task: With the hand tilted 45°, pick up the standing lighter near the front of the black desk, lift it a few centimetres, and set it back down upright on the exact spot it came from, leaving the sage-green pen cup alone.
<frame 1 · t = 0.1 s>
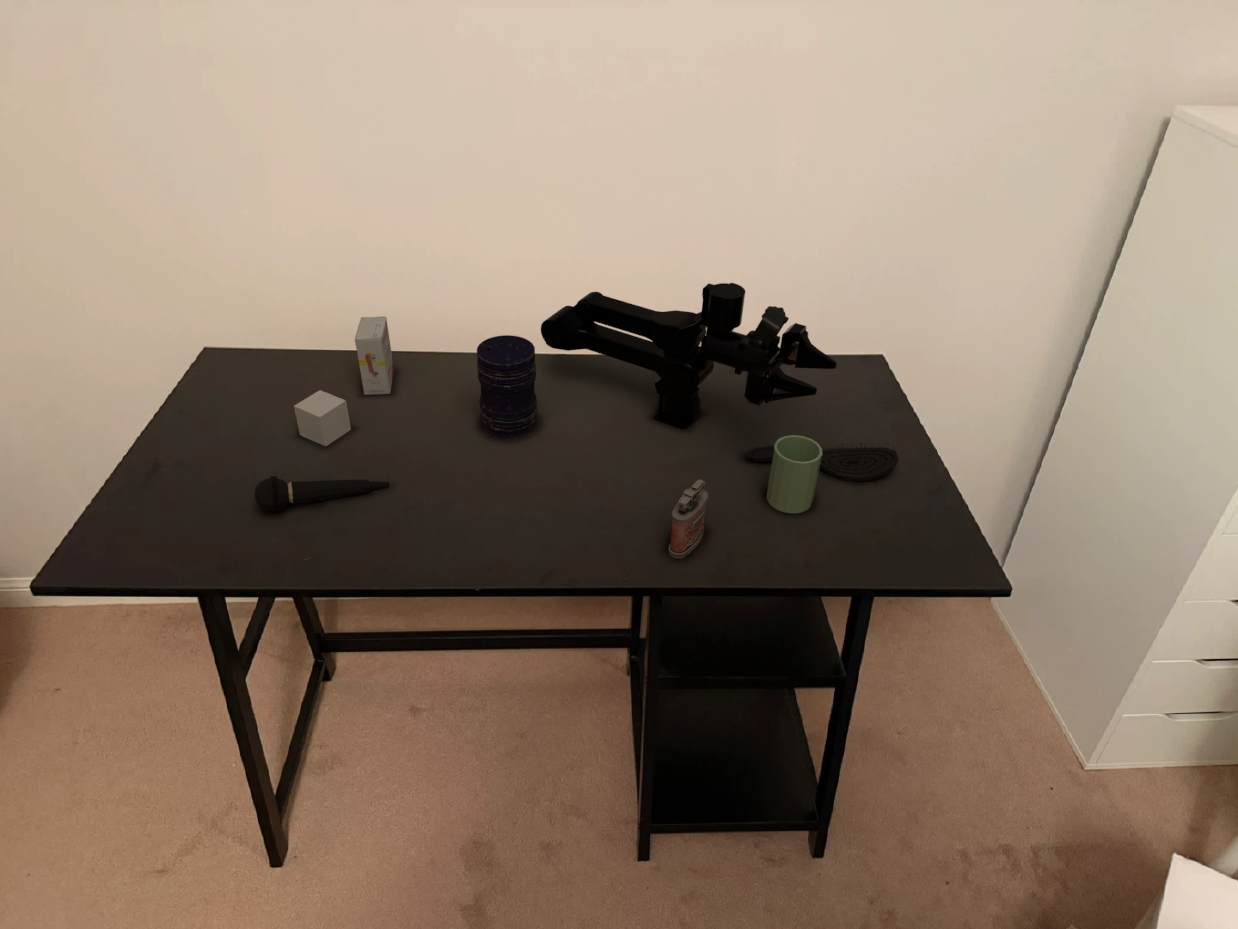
hand: (826, 378, 147), 17 cm above the table, tool horizontal, fingers open, 9 cm apart
pen cup: (789, 499, 149), on the table
microphone: (323, 502, 145), on the table
ink box: (379, 383, 173), on the table
light grey cube: (325, 433, 159), on the table
storage jar: (509, 424, 163), on the table
hairbrush: (819, 465, 157), on the table
lighter: (686, 543, 140), on the table
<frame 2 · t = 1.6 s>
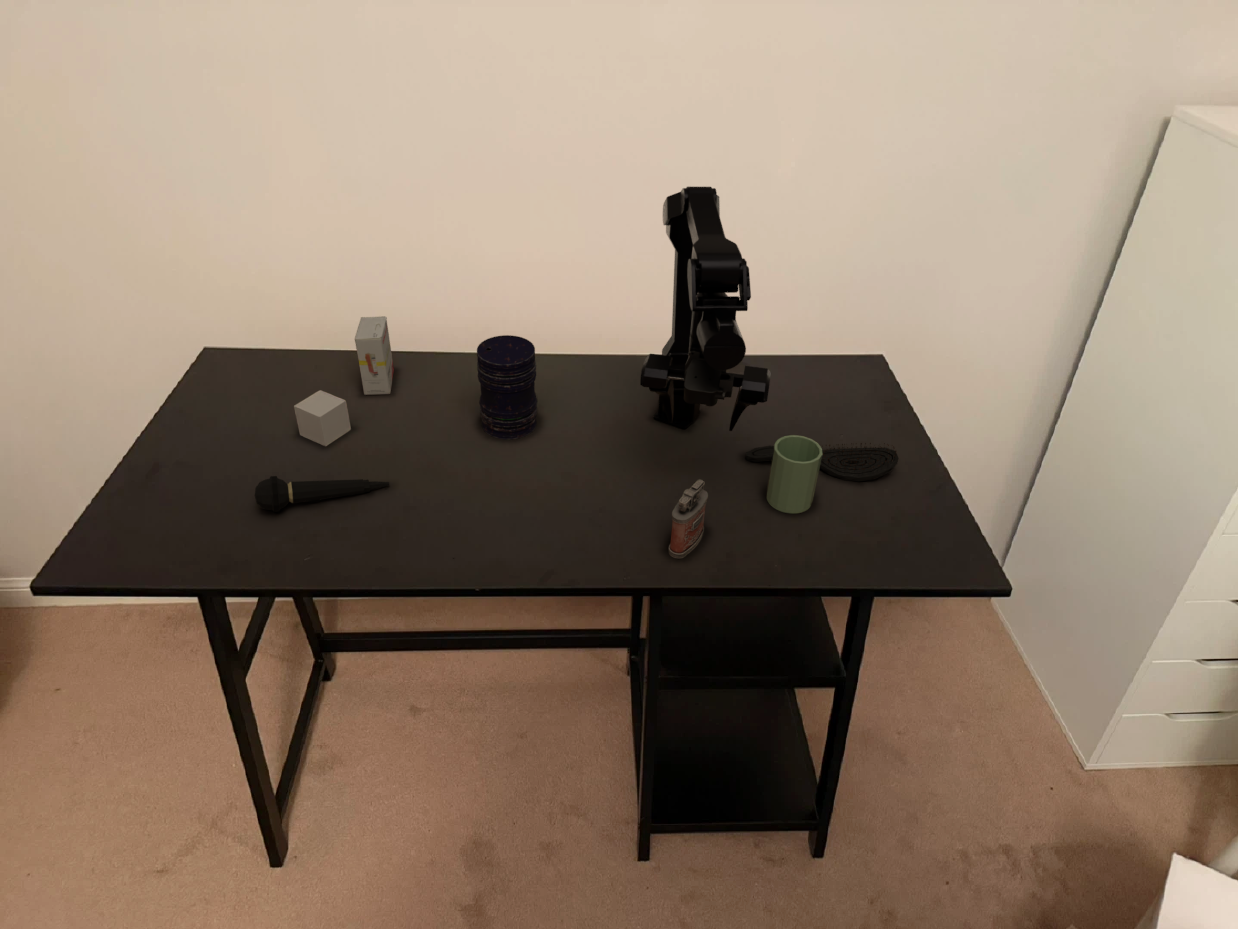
hand: (700, 425, 142), 13 cm above the table, tool pointing down, fingers open, 9 cm apart
nothing on the table moved.
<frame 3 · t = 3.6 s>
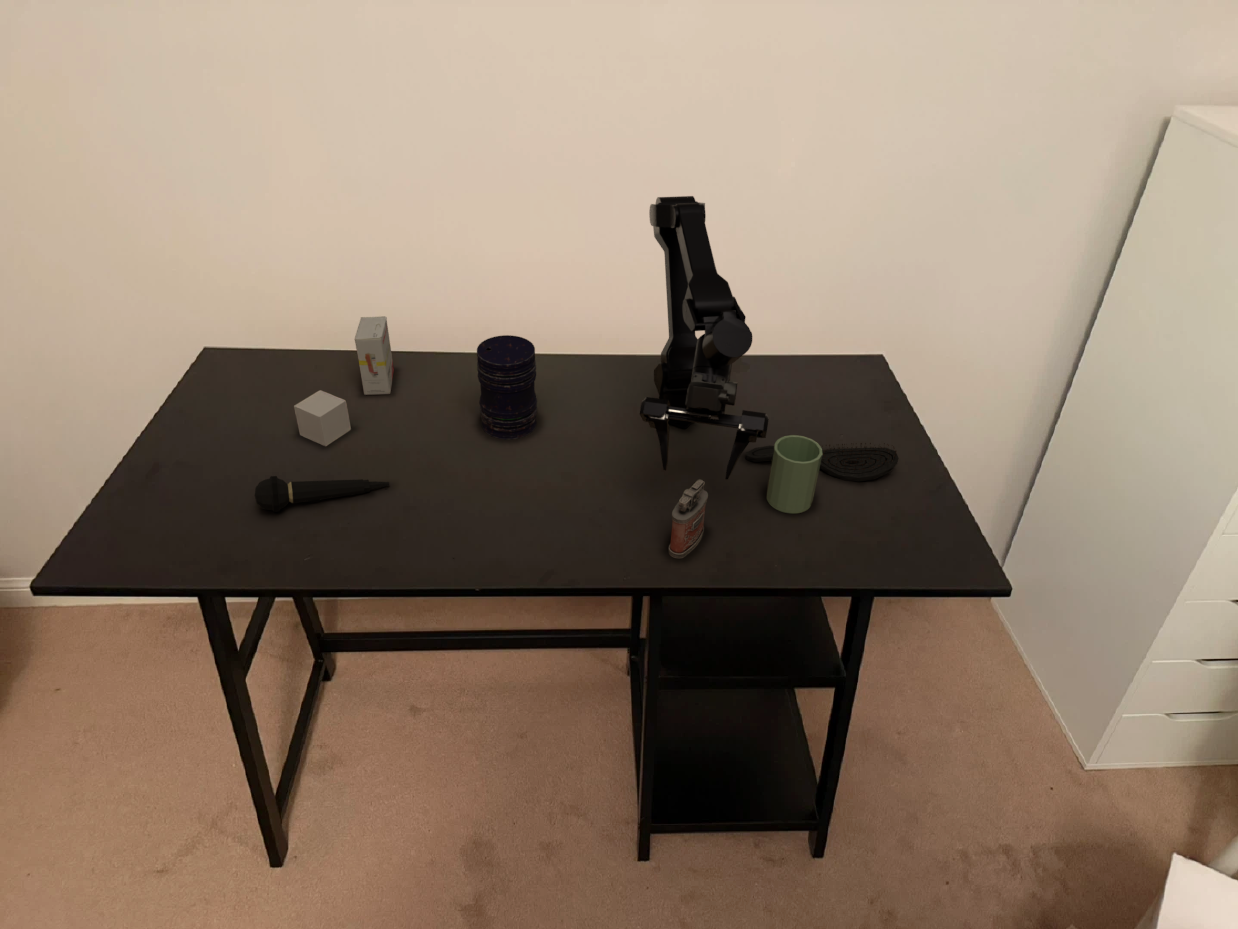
hand: (695, 474, 136), 10 cm above the table, tool tilted 45°, fingers open, 9 cm apart
nothing on the table moved.
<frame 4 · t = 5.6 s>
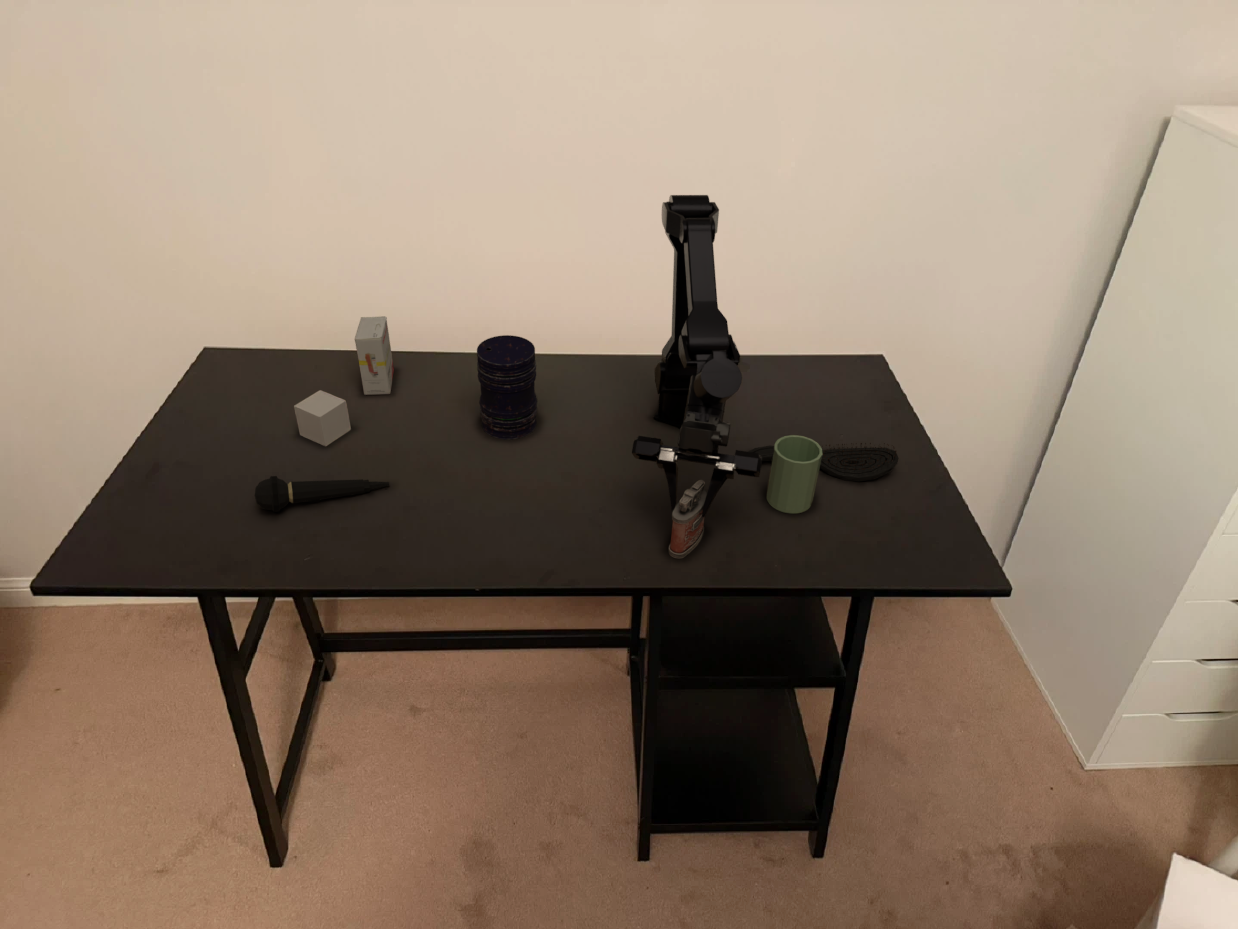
hand: (688, 514, 135), 7 cm above the table, tool tilted 45°, fingers closed on lighter, 4 cm apart
lighter: (686, 543, 140), on the table, touching gripper
everything else where it was.
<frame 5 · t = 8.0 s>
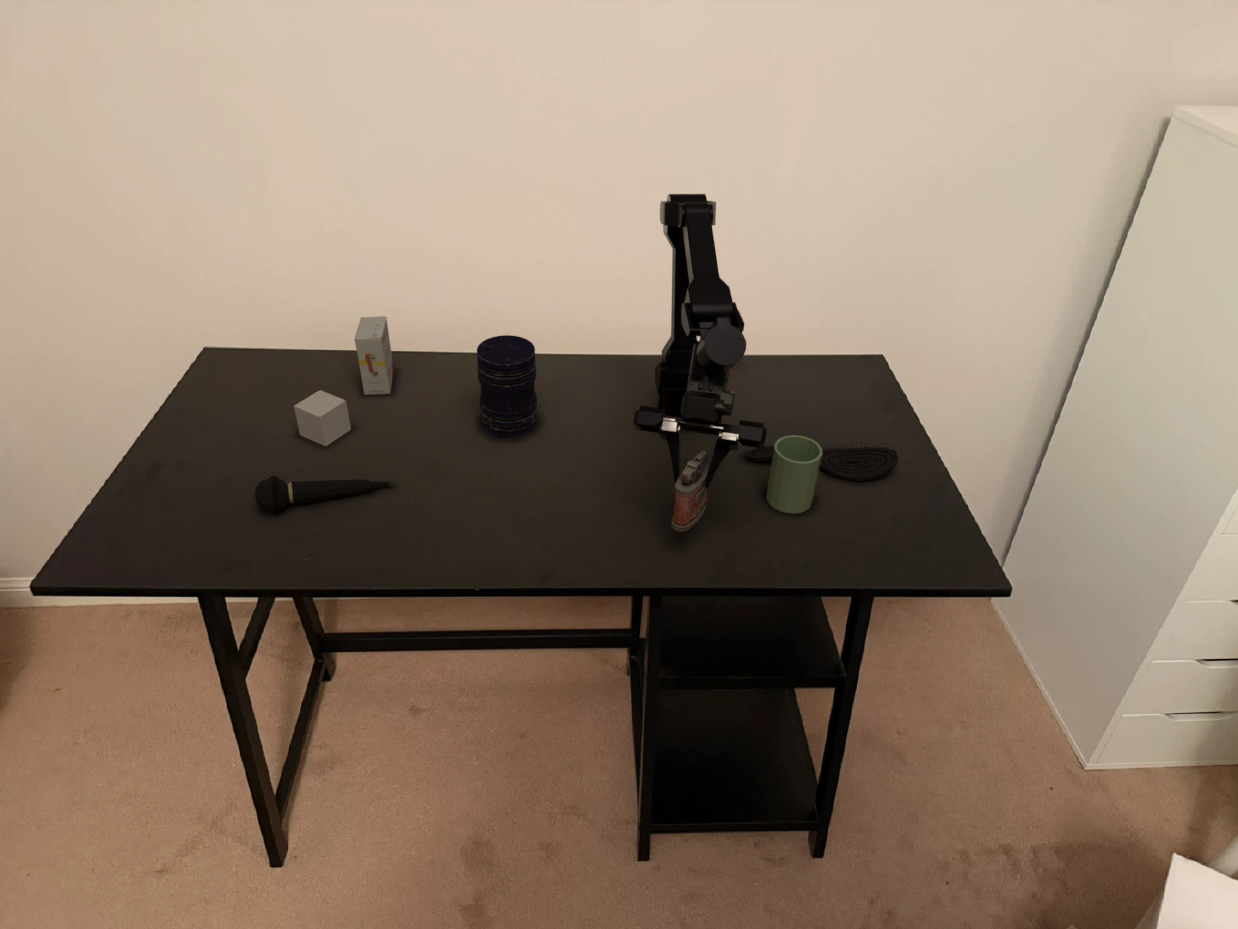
hand: (690, 486, 132), 12 cm above the table, tool tilted 45°, fingers closed on lighter, 4 cm apart
lighter: (688, 516, 137), point 5 cm above the table, touching gripper
everything else where it was.
when the fingers open (7 cm above the table, at t = 10.4 s): lighter stays where it is, on the table.
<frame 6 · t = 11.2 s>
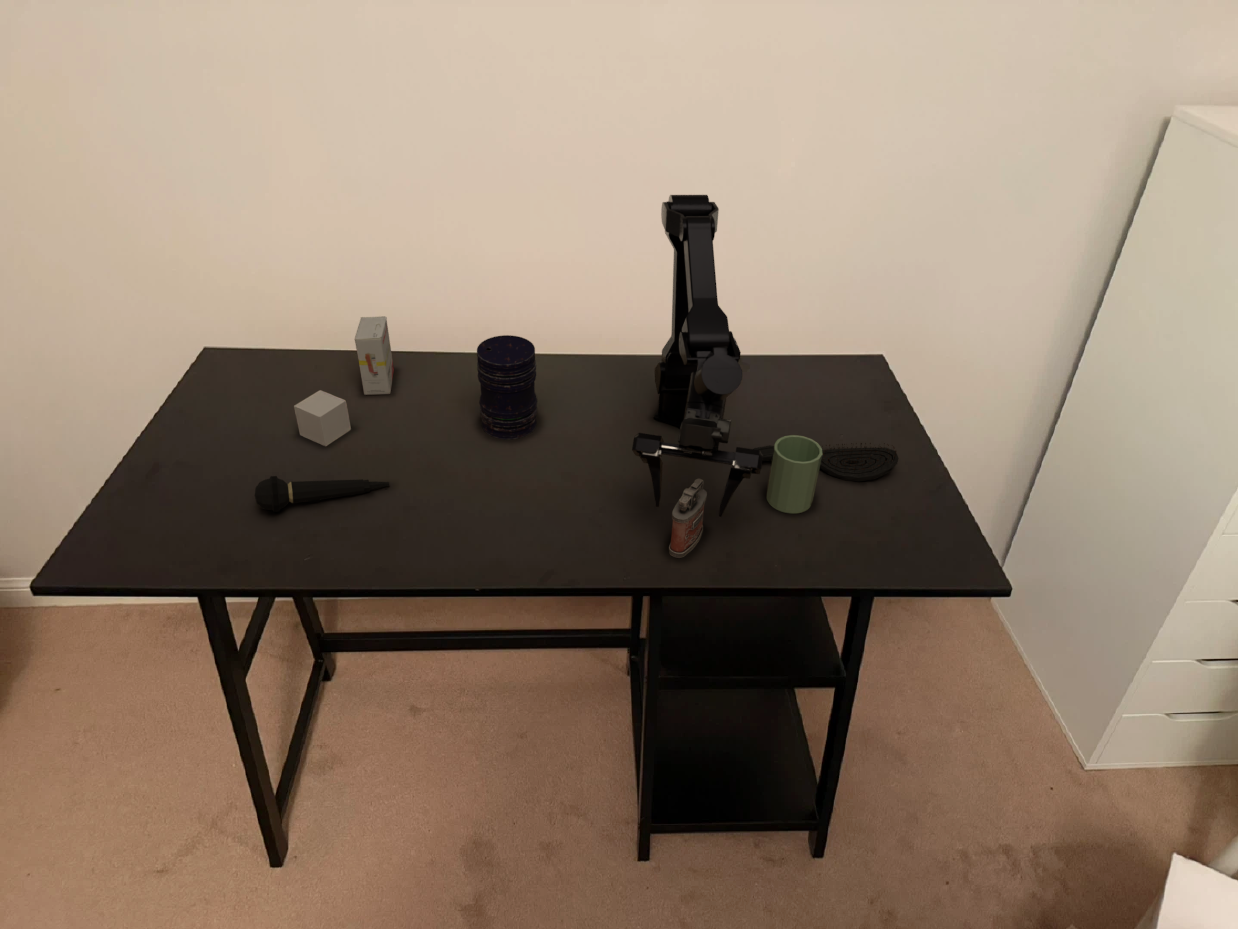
hand: (688, 511, 134), 7 cm above the table, tool tilted 45°, fingers open, 9 cm apart
lighter: (685, 542, 140), on the table
everything else where it was.
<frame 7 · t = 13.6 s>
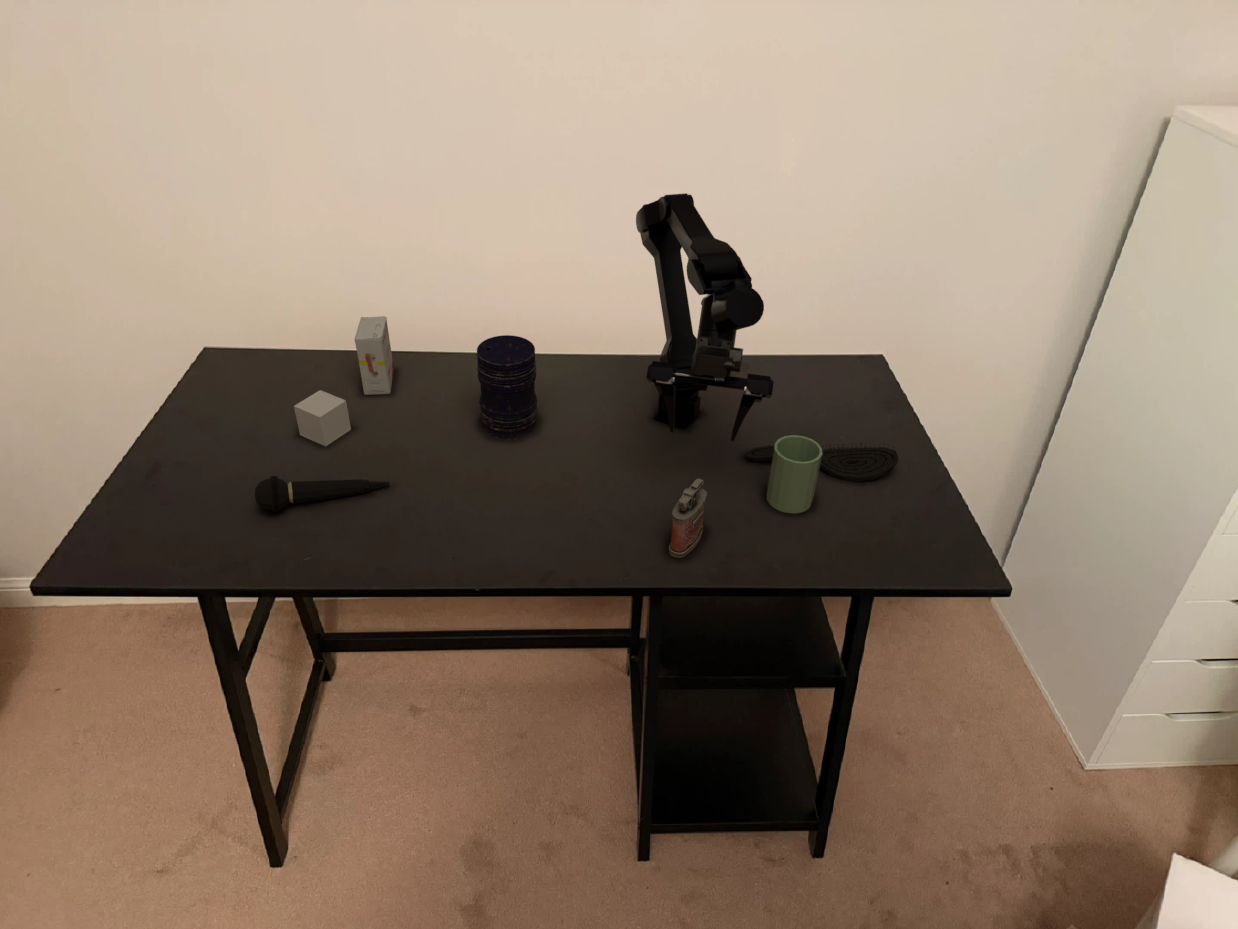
hand: (701, 436, 140), 13 cm above the table, tool tilted 35°, fingers open, 9 cm apart
nothing on the table moved.
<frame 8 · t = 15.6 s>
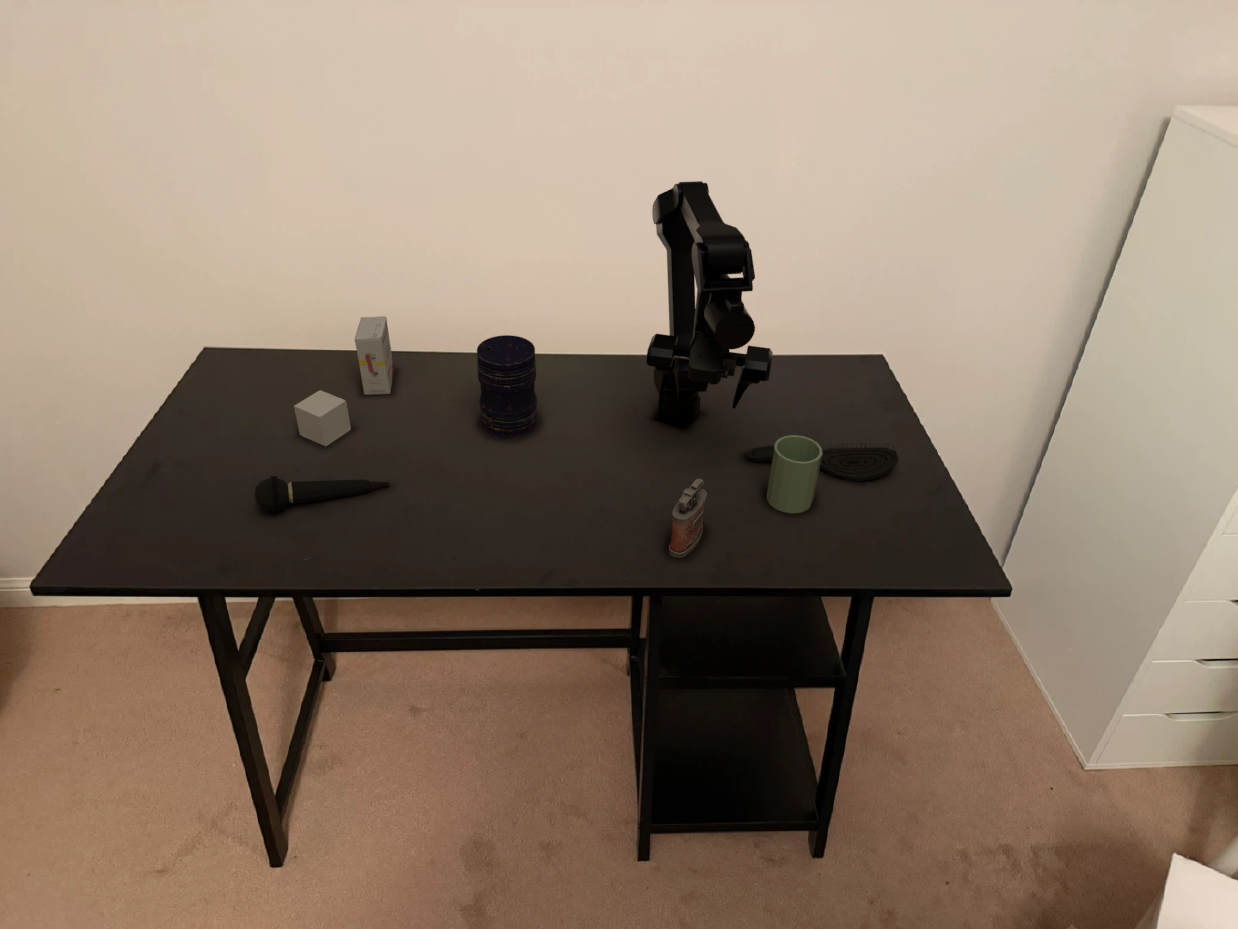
hand: (704, 403, 147), 13 cm above the table, tool pointing down, fingers open, 9 cm apart
nothing on the table moved.
at the end: lighter moved 0.3 cm from its start; lighter tilted 0°; the gripper is holding nothing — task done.
